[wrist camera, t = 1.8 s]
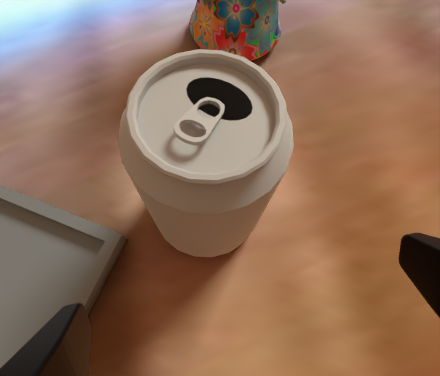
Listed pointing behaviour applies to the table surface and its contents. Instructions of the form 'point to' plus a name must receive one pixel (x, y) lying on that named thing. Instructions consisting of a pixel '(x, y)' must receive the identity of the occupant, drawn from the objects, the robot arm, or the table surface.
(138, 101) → the can
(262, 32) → the mug
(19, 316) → the slate dish
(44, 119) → the table surface
